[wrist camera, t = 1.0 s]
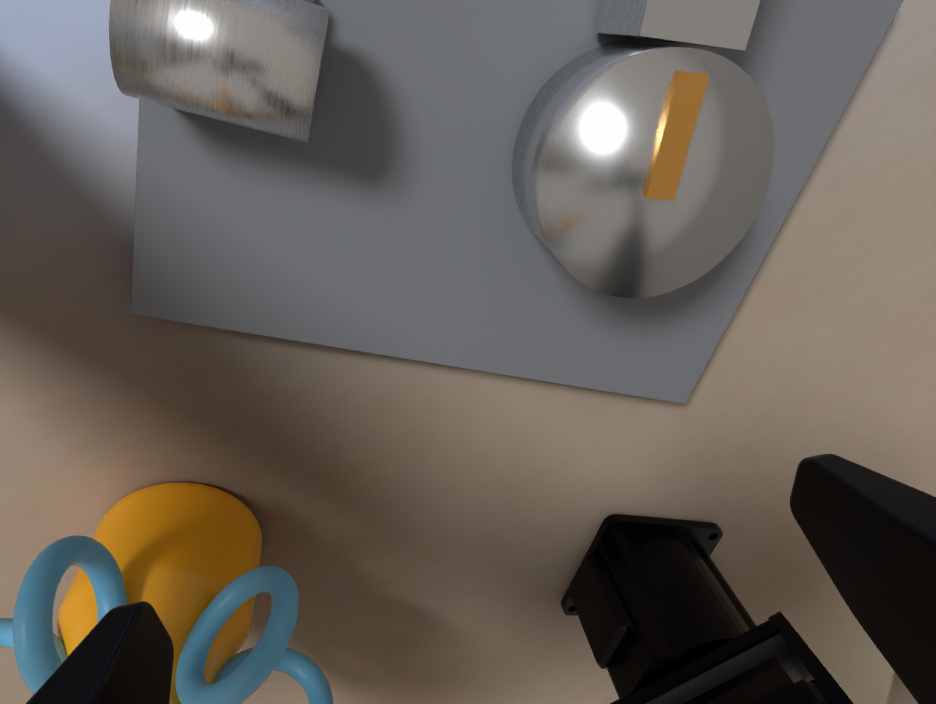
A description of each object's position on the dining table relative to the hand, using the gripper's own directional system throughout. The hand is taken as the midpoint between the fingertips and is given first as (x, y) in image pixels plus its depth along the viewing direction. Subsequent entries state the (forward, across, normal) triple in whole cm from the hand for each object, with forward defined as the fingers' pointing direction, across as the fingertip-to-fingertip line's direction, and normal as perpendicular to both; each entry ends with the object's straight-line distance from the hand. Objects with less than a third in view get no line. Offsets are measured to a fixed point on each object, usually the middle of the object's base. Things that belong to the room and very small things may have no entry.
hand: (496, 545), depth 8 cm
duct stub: (+12, +3, -6) cm, 14 cm away
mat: (+13, -4, -2) cm, 14 cm away
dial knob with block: (+12, -7, -4) cm, 14 cm away
